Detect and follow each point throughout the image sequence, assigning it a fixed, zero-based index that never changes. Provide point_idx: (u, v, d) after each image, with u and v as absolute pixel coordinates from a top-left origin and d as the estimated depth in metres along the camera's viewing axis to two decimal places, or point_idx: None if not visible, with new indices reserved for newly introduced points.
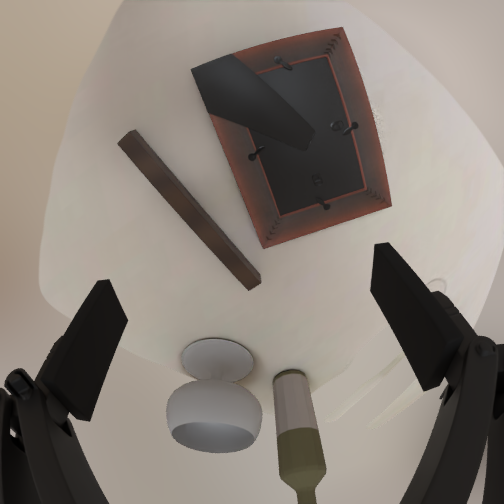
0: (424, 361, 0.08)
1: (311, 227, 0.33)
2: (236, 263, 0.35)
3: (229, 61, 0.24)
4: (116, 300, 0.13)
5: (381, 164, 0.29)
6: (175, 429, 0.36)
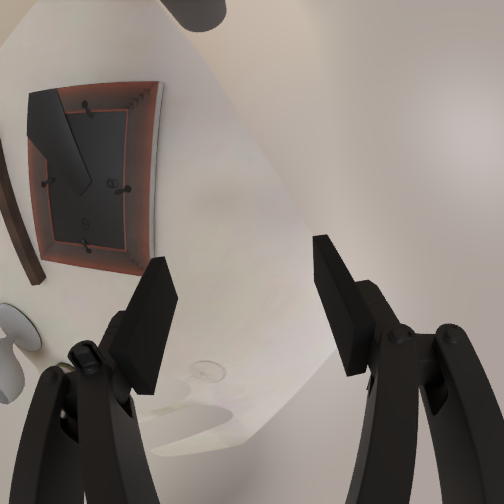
0: (344, 346, 0.10)
1: (75, 261, 0.31)
2: (25, 260, 0.31)
3: (52, 95, 0.21)
4: (169, 277, 0.15)
5: (145, 235, 0.30)
6: None
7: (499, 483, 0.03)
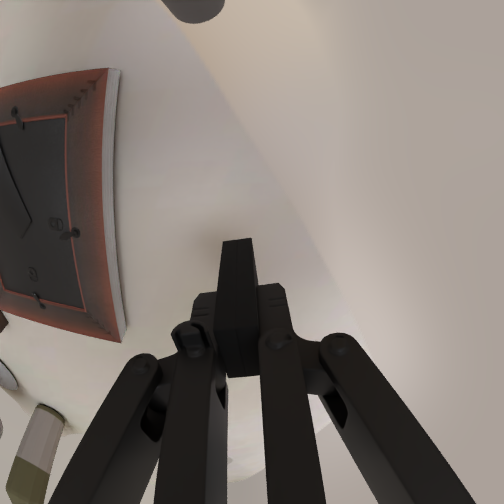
0: None
1: (30, 315, 0.21)
2: None
3: None
4: None
5: (107, 294, 0.20)
6: None
7: (433, 490, 0.03)
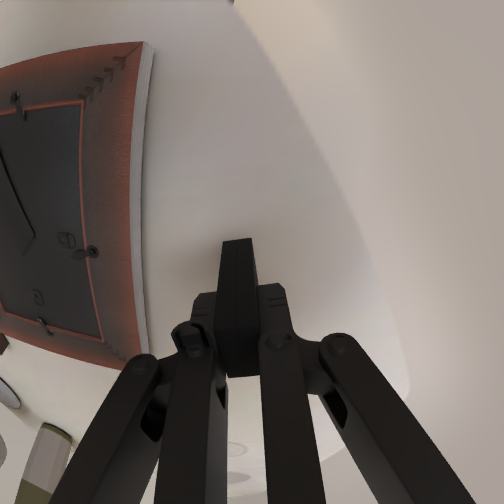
0: None
1: (35, 341, 0.18)
2: None
3: None
4: None
5: (131, 324, 0.17)
6: None
7: (433, 490, 0.03)
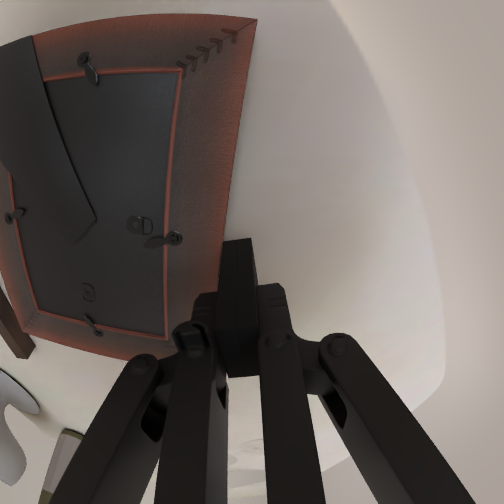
0: None
1: (76, 343, 0.18)
2: (2, 327, 0.18)
3: (24, 49, 0.08)
4: None
5: None
6: None
7: (433, 491, 0.03)
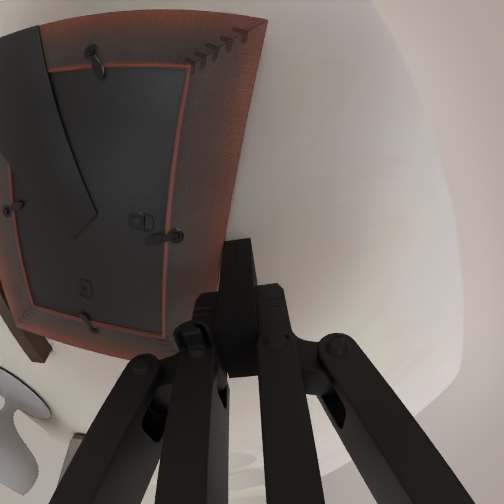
0: None
1: (71, 340, 0.18)
2: (17, 330, 0.18)
3: (30, 39, 0.08)
4: None
5: None
6: None
7: (432, 491, 0.03)
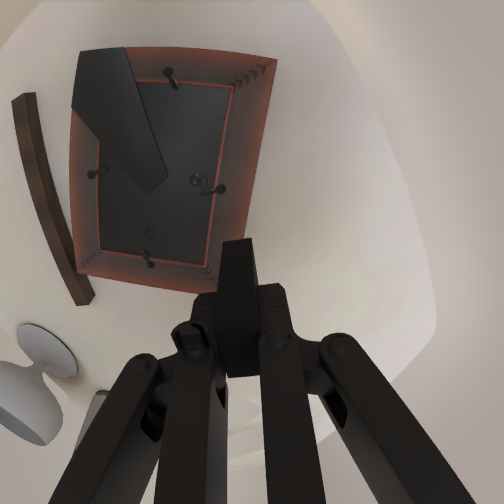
0: None
1: (128, 277, 0.26)
2: (69, 275, 0.26)
3: (117, 55, 0.17)
4: None
5: None
6: None
7: (433, 490, 0.03)
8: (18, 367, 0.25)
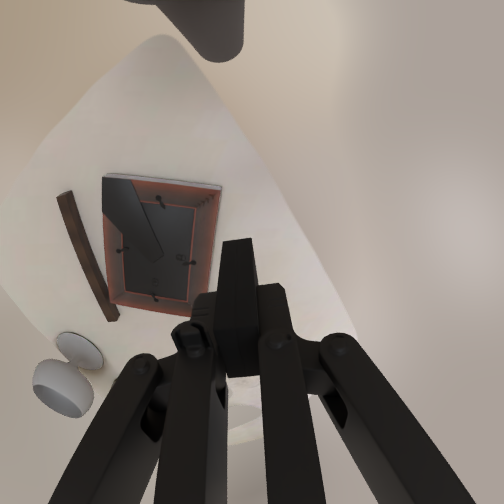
0: None
1: (142, 306, 0.45)
2: (104, 303, 0.45)
3: (127, 184, 0.35)
4: None
5: (204, 292, 0.43)
6: (36, 384, 0.42)
7: (433, 490, 0.03)
8: (64, 362, 0.44)
